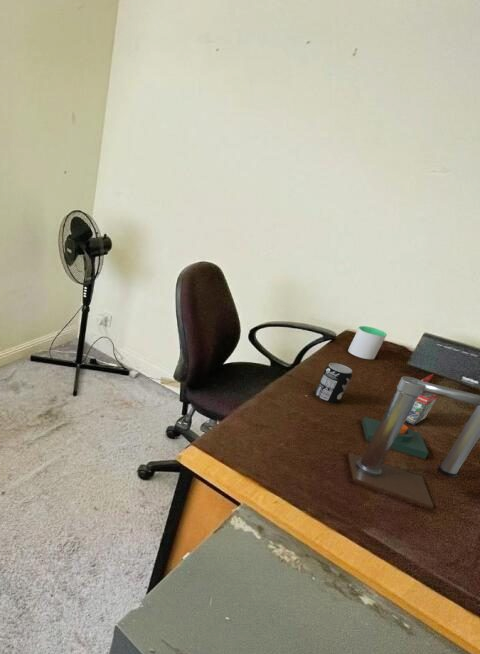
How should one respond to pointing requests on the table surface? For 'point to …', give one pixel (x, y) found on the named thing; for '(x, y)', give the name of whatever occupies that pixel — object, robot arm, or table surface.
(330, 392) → the beverage can
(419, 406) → the ink box
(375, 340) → the mug
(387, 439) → the slanted pole stand
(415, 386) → the spout
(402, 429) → the button
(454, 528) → the table surface
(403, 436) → the button box
